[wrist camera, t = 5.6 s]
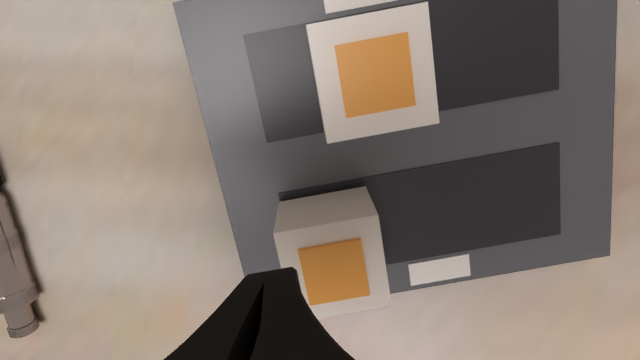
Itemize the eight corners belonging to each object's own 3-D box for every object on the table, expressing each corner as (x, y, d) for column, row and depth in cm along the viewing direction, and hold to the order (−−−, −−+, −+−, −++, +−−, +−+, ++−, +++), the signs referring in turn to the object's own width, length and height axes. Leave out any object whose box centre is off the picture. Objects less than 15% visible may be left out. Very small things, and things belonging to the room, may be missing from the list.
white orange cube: (403, 12, 17) (429, 1, 13) (414, 110, 18) (441, 124, 14) (305, 30, 17) (305, 24, 13) (323, 127, 18) (327, 144, 14)
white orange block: (365, 186, 19) (379, 216, 15) (377, 264, 20) (393, 309, 16) (278, 201, 19) (272, 235, 15) (295, 278, 20) (293, 326, 17)
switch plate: (599, -75, 18) (621, -85, 16) (593, 244, 22) (611, 256, 21) (181, 5, 18) (171, 2, 17) (258, 303, 22) (255, 318, 21)
